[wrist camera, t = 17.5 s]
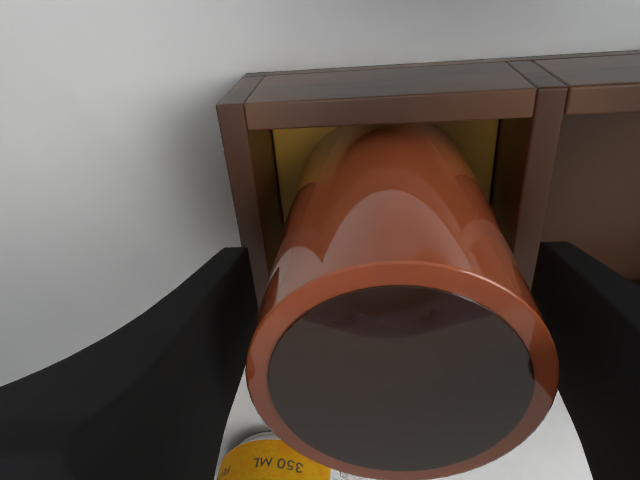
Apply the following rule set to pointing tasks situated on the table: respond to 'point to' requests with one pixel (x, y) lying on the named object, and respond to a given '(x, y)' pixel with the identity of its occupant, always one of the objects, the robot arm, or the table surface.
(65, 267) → the table surface
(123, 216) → the table surface
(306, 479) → the beer can
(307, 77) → the box
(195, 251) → the table surface
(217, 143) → the table surface
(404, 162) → the cup
